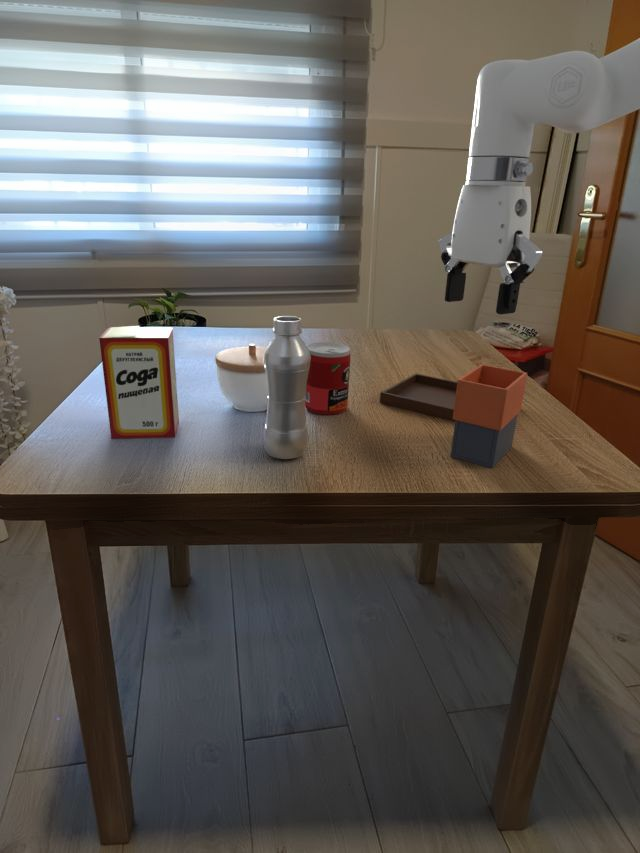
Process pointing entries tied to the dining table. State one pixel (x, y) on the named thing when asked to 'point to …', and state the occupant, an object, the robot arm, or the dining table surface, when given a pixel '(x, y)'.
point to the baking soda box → (140, 381)
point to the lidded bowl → (243, 377)
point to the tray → (423, 395)
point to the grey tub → (481, 442)
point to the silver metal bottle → (286, 390)
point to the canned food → (328, 378)
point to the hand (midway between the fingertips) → (478, 306)
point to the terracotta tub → (489, 396)
